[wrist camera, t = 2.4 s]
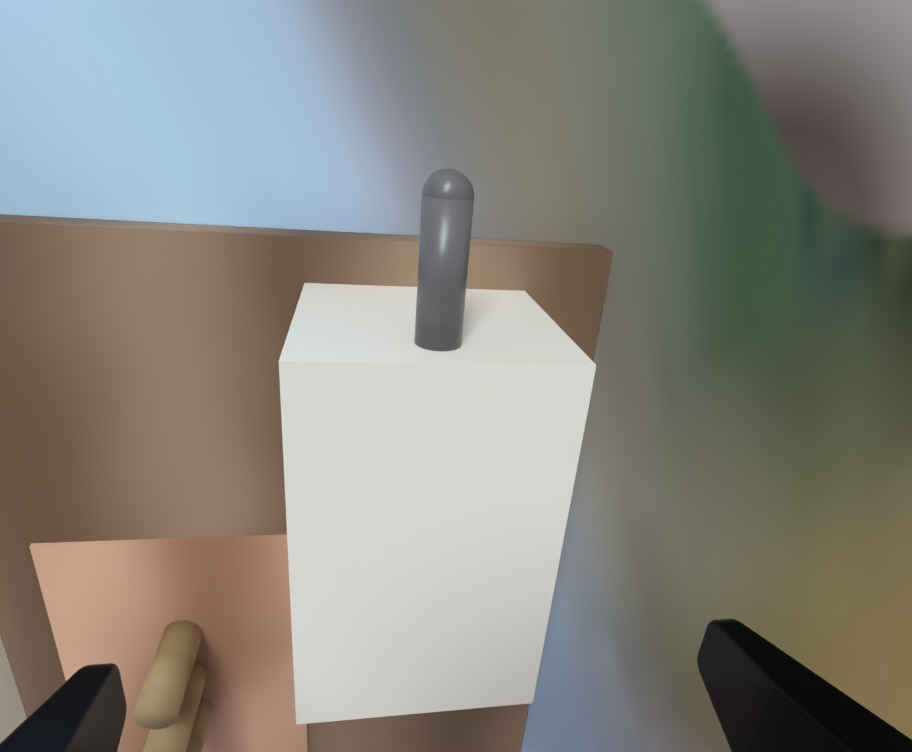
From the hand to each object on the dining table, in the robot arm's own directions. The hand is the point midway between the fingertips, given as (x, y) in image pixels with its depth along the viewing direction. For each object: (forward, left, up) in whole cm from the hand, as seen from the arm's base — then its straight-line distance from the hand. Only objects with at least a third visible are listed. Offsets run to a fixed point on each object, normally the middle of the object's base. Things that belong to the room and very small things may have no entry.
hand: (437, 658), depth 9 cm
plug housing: (0, +2, -6) cm, 7 cm away
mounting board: (-3, -4, -7) cm, 9 cm away
